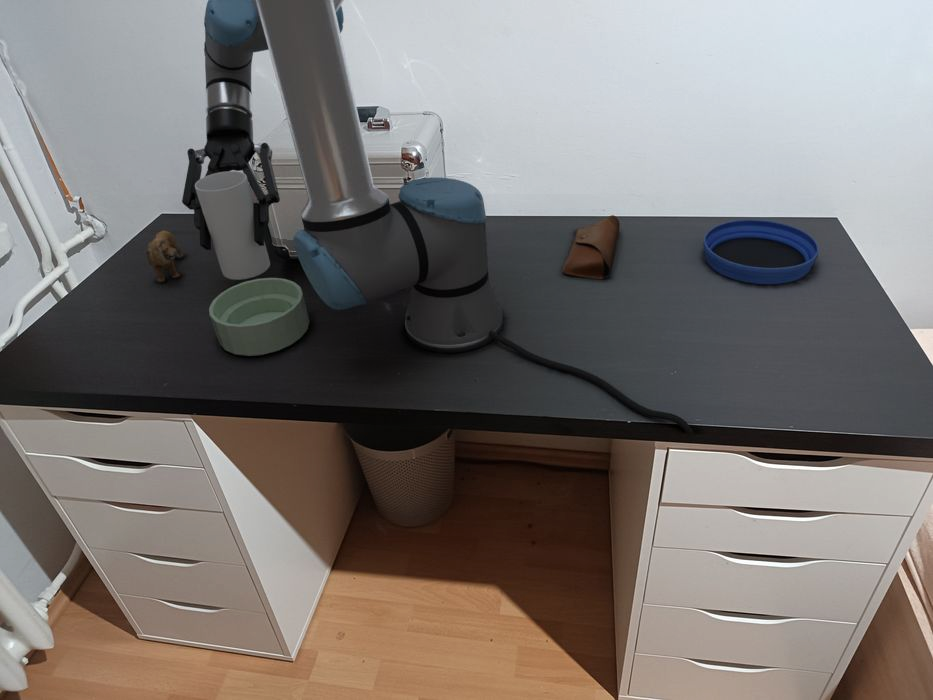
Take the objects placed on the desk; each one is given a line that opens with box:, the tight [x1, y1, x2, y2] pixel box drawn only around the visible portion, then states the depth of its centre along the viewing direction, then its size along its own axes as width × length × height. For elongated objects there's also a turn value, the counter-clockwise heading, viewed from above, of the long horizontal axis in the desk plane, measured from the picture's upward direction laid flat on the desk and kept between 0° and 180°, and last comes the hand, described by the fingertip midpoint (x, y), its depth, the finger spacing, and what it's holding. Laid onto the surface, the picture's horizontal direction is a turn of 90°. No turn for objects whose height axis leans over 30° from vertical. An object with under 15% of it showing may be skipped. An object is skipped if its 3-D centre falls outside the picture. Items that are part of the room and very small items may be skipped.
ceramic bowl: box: [208, 277, 310, 357], centre depth 108 cm, size 14×14×6 cm
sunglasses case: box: [561, 214, 621, 280], centre depth 122 cm, size 18×7×7 cm
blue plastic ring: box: [702, 219, 819, 285], centre depth 116 cm, size 18×18×4 cm
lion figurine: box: [145, 230, 184, 283], centre depth 127 cm, size 15×5×9 cm, turn 22°
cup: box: [195, 170, 271, 281], centre depth 114 cm, size 8×8×16 cm
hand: (232, 245), depth 113 cm, fingers closed on cup, 8 cm apart
